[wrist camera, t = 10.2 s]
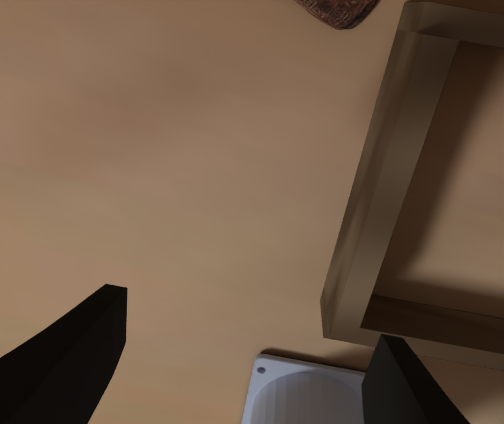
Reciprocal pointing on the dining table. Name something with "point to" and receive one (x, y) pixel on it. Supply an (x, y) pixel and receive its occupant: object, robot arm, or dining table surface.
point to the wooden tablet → (338, 11)
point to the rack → (394, 191)
